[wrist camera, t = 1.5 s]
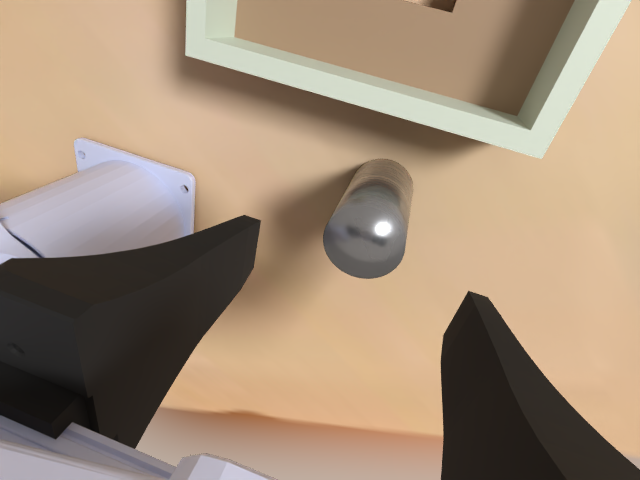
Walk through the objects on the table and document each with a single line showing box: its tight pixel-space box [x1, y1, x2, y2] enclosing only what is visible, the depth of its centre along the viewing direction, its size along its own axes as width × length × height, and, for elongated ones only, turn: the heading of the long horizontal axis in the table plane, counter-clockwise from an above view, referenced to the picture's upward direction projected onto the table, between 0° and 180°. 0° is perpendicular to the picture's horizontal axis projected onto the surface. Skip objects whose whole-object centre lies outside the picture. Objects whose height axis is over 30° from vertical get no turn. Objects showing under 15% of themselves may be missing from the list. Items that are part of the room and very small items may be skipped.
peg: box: [323, 159, 413, 279], centre depth 17 cm, size 3×3×6 cm
